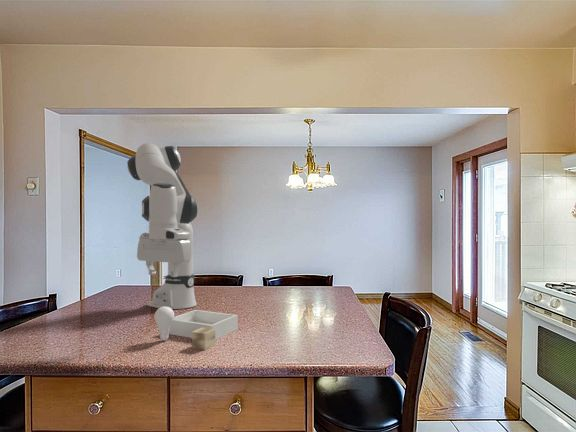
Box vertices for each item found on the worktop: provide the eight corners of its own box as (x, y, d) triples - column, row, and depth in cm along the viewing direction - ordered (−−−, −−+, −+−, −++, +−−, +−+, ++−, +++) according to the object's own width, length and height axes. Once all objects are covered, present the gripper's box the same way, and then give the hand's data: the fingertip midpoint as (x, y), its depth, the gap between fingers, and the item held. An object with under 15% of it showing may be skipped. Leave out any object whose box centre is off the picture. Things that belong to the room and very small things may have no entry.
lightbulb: (177, 338, 124) (178, 305, 124) (166, 344, 118) (166, 309, 119) (162, 336, 126) (162, 303, 126) (150, 342, 120) (150, 307, 121)
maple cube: (192, 348, 116) (192, 331, 116) (202, 343, 120) (202, 327, 120) (205, 350, 114) (205, 333, 114) (215, 345, 118) (215, 329, 118)
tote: (166, 333, 130) (166, 319, 130) (195, 322, 143) (195, 309, 143) (212, 341, 122) (212, 325, 122) (237, 329, 135) (237, 315, 135)
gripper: (132, 232, 124) (132, 274, 124) (180, 234, 115) (180, 279, 115) (147, 232, 130) (147, 272, 130) (194, 233, 121) (194, 276, 121)
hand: (163, 275), depth 123 cm, fingers open, 8 cm apart
